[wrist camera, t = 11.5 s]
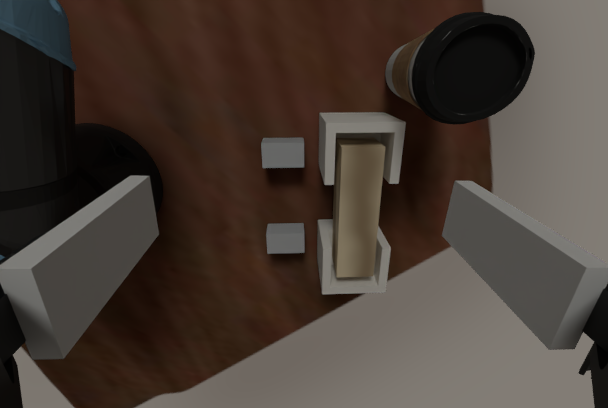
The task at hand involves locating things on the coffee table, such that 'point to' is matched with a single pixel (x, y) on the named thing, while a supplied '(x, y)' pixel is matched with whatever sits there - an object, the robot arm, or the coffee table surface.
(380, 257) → the bracket pair
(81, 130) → the robot arm
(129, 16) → the coffee table surface
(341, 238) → the rail
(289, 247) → the rest blocks
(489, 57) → the coffee cup
